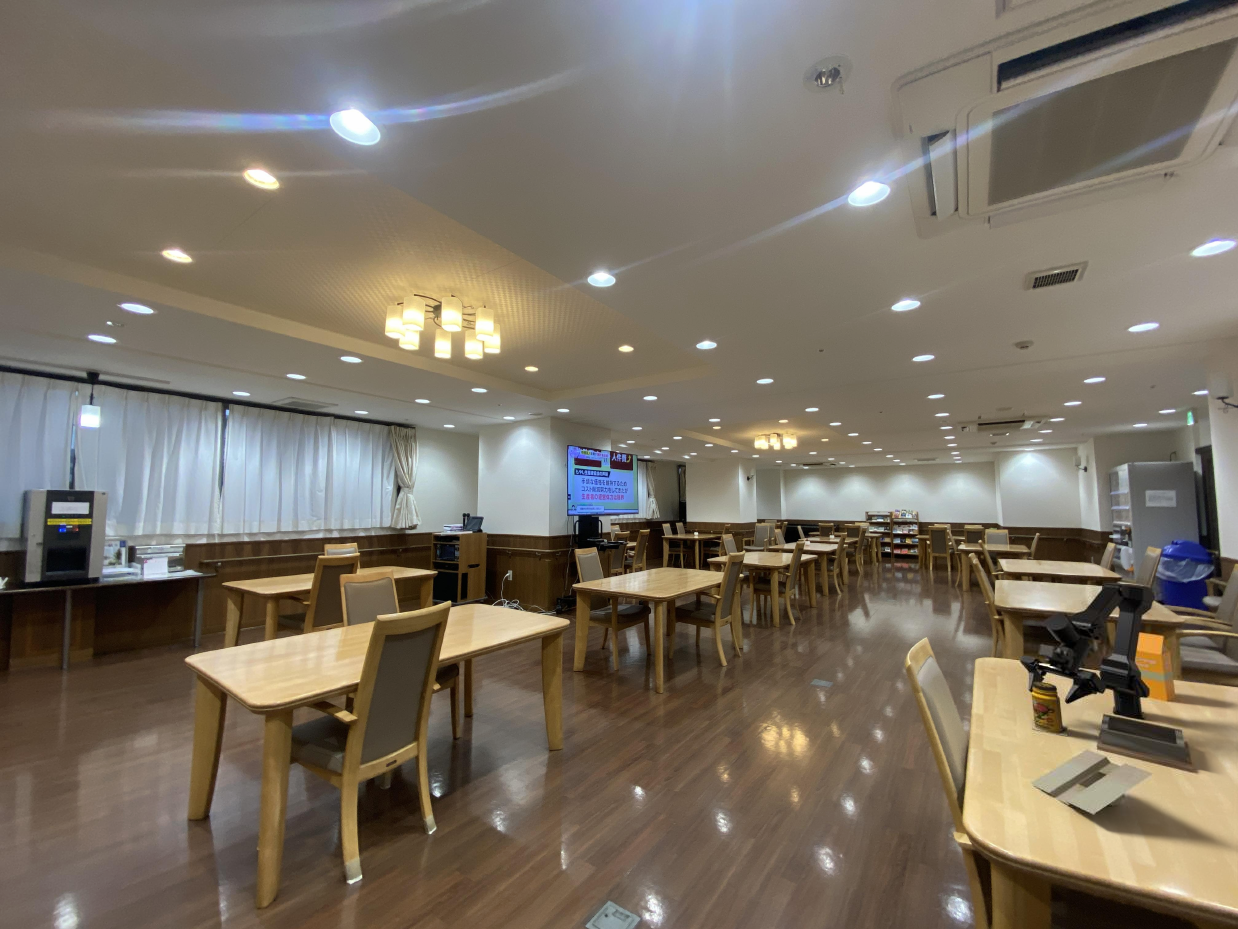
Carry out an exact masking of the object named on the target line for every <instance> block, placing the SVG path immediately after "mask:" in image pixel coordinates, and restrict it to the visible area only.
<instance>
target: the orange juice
mask: <svg viewBox="0 0 1238 929" xmlns="http://www.w3.org/2000/svg"><path fill="white" fill-rule="evenodd" d="M1171 657H1172V656H1171V651H1170V649H1169V647H1168V644H1167V642H1166V639H1165V637H1164V635H1160V634H1153V633H1146V632H1141V631H1140V632H1139V638H1138V645H1137V651H1136V658H1135V663H1136V665H1137V667H1138V668H1139V670H1140V672H1141V679H1142V680H1143V682H1144V683H1145V684H1146V685H1147V686H1148V687H1149V689H1150V694H1149V696H1148V699H1149V698H1150V699H1152V700H1153V699H1154V700H1159V701H1163V702H1169V701H1171V700H1173V699H1176V698H1177V697H1176V691H1175V690H1176V689H1175V684H1174V672H1173V666H1172V658H1171Z"/></svg>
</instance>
